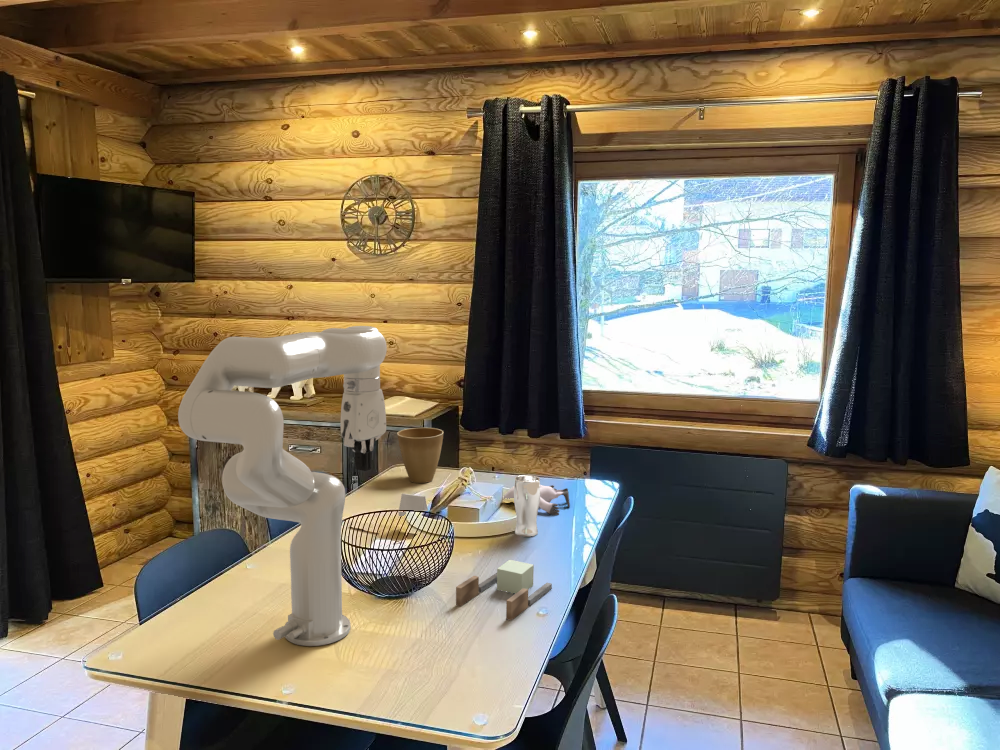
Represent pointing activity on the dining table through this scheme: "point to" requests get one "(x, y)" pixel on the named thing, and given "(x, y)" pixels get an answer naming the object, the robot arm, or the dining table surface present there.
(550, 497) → the yeti figurine
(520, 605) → the walnut channel
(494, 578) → the rails
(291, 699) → the dining table surface
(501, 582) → the sage block
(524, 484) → the beer glass
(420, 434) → the plant pot
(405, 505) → the light grey tapered block
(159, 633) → the dining table surface
